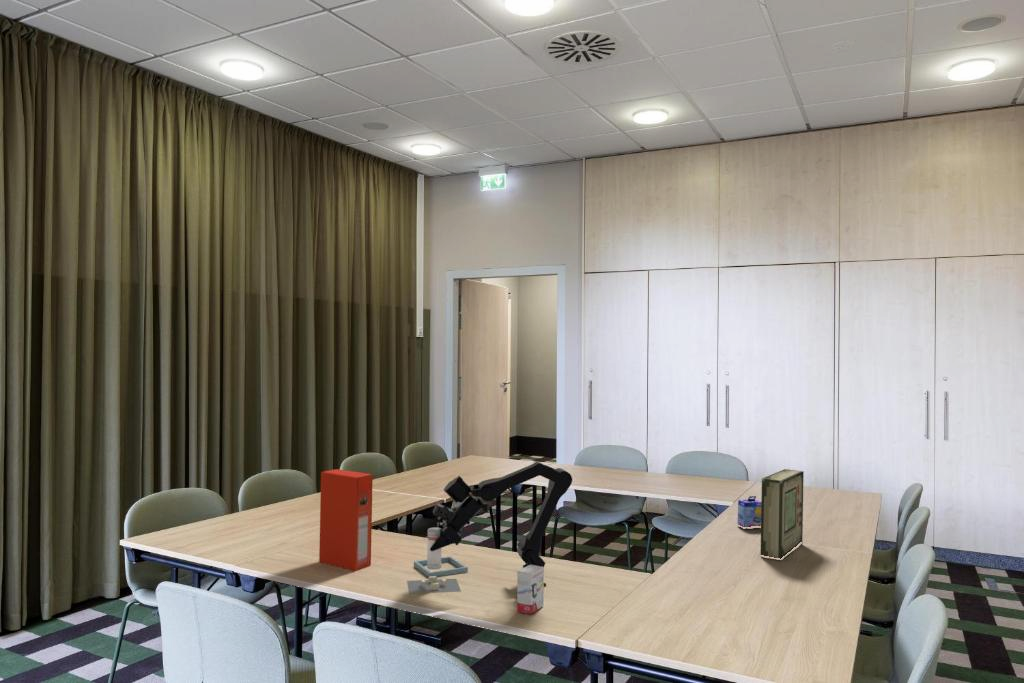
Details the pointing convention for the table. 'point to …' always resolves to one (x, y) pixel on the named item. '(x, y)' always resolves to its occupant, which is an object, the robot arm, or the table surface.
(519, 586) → the ink box
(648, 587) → the table surface
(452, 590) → the board
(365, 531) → the file binder
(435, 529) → the white cylinder
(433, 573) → the tray
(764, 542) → the control panel
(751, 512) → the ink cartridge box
